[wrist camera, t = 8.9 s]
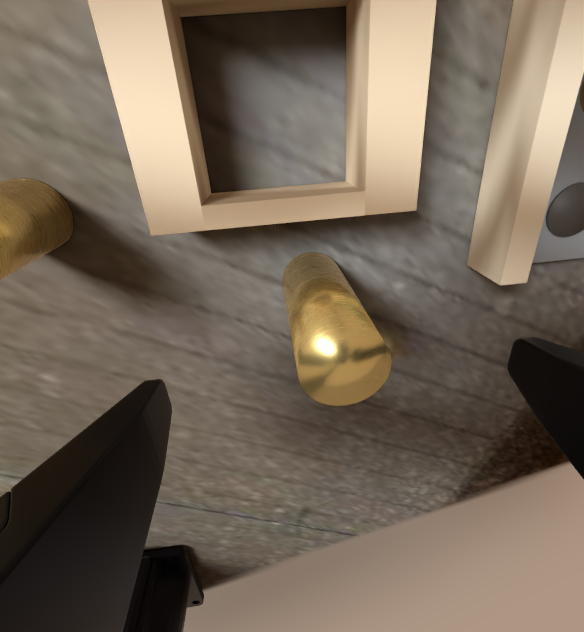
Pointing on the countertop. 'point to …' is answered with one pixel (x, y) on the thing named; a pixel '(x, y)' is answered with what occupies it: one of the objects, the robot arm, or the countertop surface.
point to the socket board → (184, 131)
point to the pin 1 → (30, 222)
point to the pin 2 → (332, 334)
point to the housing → (534, 147)
